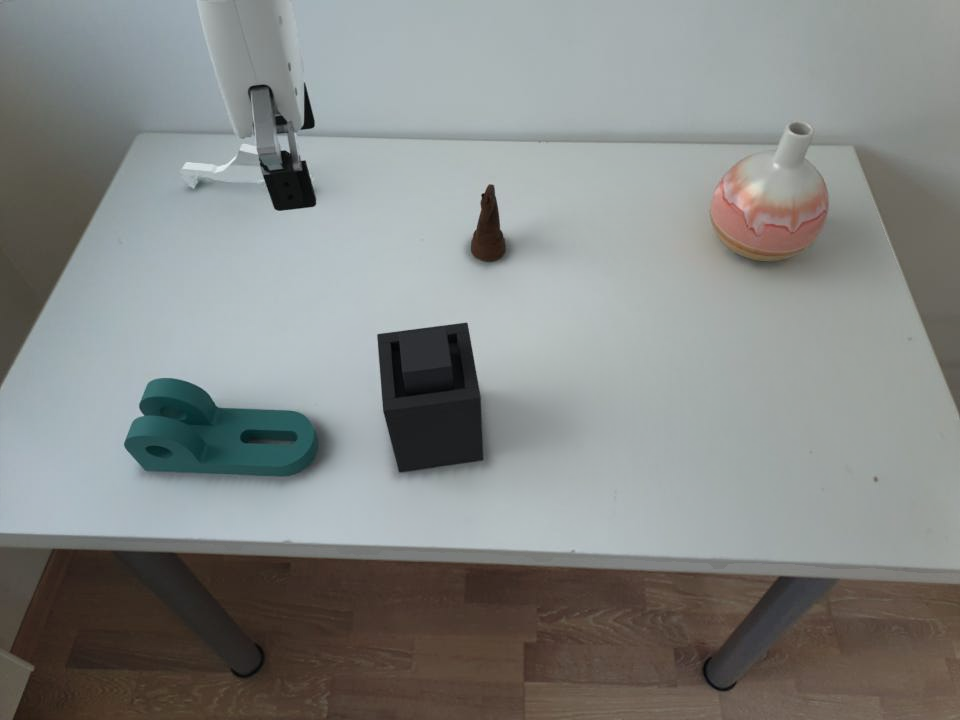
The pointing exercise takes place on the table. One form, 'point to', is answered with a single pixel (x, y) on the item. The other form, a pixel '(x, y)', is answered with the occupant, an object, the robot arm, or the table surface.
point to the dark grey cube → (426, 361)
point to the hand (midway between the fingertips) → (296, 165)
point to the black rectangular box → (432, 407)
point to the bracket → (215, 434)
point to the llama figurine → (228, 169)
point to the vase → (772, 200)
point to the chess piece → (488, 230)
